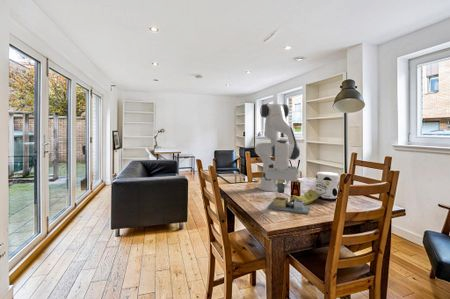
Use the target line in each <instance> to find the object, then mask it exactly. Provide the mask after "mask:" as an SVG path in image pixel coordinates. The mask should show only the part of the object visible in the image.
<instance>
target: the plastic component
mask: <svg viewBox="0 0 450 299" xmlns="http://www.w3.org/2000/svg"><path fill="white" fill-rule="evenodd" d="M318 198H319V197H318V194H317V193H316V192H315V191H314V189H313V188H311V189H308V190H307V191H306V192H305V193H303V194H302V195H299V196H296V195H295V194H294V195H292V197H291V198H290V200H289V202H291V203H294V201H295V200H303V201H304V205H306V206H308V205H309V204H311V203H313V202H315V200H317V199H318Z"/></svg>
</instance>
